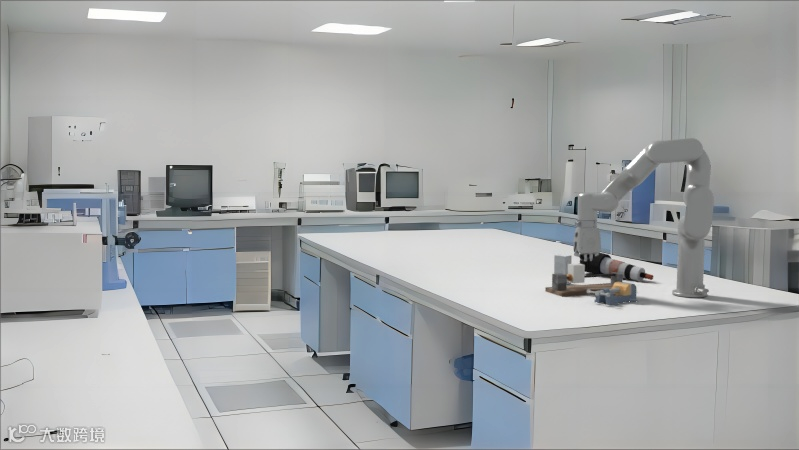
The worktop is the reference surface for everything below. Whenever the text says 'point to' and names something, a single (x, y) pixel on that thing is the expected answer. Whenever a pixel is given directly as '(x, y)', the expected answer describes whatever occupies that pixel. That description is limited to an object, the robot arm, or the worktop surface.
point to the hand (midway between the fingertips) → (586, 270)
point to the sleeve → (576, 272)
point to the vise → (616, 294)
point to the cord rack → (562, 289)
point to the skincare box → (562, 264)
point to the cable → (616, 268)
